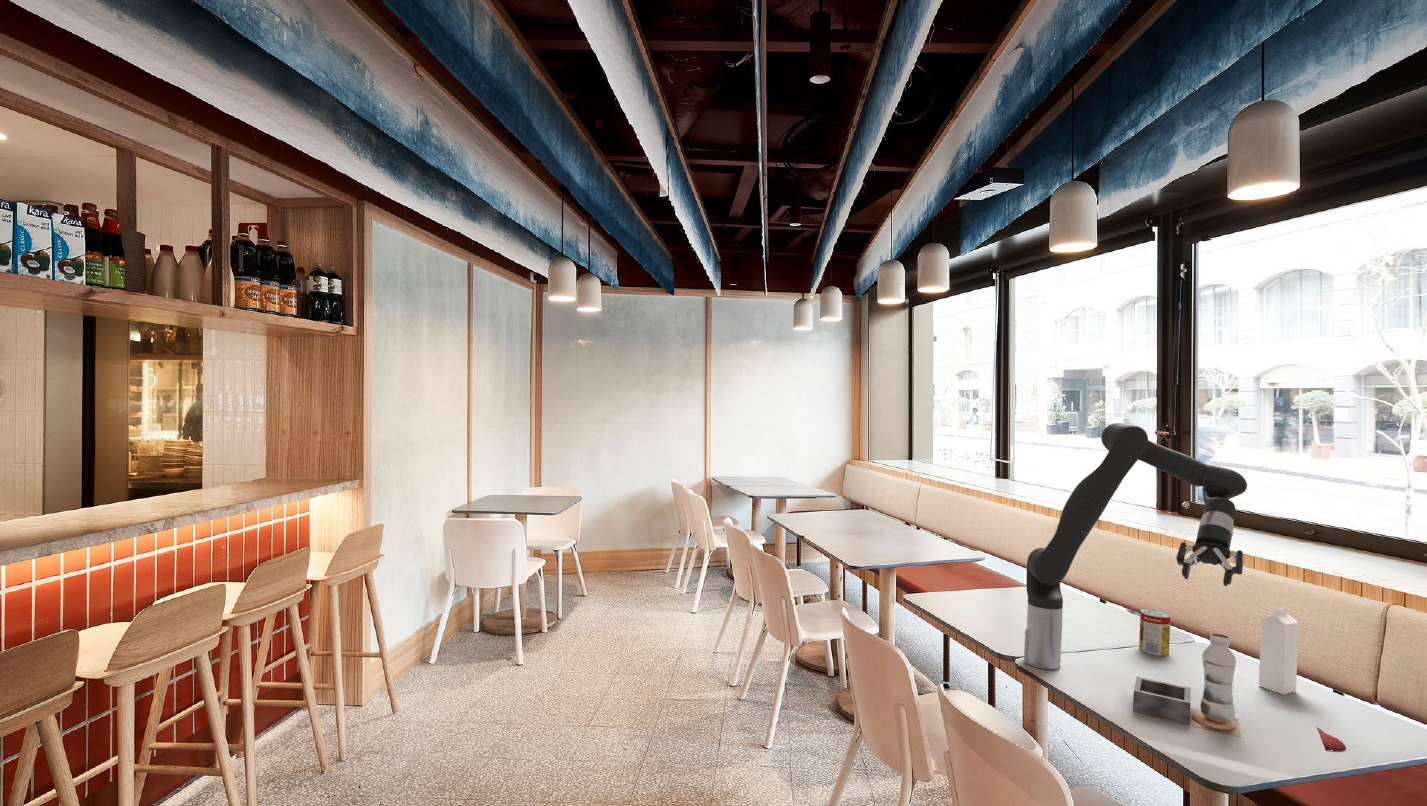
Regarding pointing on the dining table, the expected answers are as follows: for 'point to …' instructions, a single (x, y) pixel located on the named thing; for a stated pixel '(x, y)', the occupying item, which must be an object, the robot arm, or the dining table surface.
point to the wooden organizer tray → (1170, 704)
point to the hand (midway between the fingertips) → (1205, 580)
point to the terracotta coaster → (1212, 722)
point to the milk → (1278, 652)
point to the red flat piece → (1331, 742)
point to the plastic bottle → (1218, 680)
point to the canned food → (1154, 632)
